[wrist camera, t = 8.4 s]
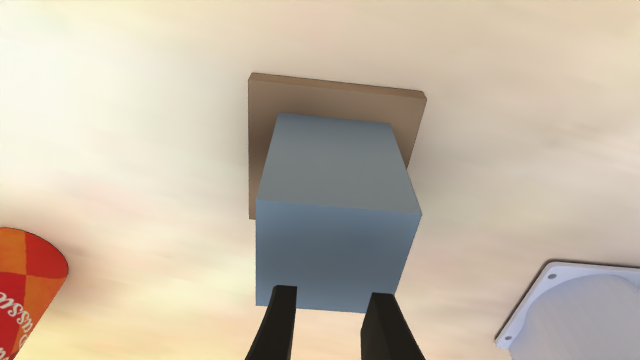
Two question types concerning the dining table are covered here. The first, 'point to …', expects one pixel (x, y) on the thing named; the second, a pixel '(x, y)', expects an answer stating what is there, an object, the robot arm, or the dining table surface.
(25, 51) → the dining table surface
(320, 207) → the blue-grey block
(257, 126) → the board
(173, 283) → the dining table surface
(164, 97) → the dining table surface
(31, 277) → the paper cup
